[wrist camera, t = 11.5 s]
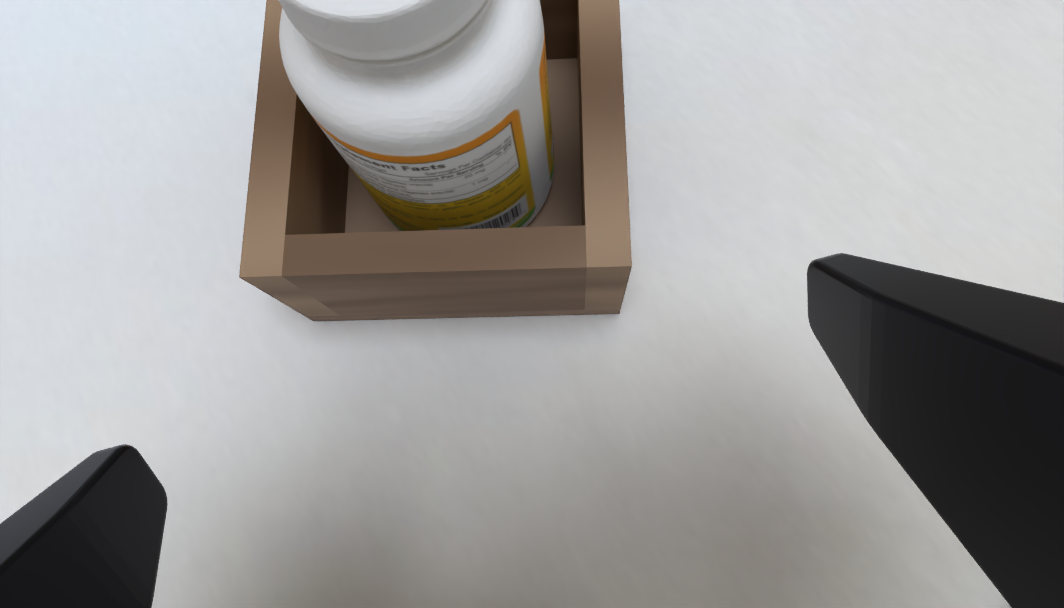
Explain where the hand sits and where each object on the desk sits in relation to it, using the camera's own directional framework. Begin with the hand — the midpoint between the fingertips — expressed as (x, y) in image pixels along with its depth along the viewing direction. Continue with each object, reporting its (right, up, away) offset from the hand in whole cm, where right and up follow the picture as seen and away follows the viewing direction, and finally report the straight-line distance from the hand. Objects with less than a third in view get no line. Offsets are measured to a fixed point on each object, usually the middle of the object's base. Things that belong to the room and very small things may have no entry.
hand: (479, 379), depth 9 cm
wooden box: (-1, +5, +12) cm, 13 cm away
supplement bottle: (-1, +5, +12) cm, 13 cm away
